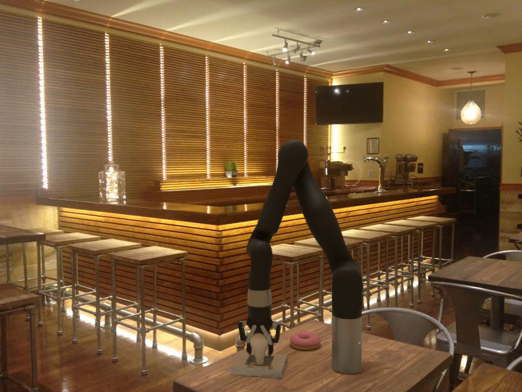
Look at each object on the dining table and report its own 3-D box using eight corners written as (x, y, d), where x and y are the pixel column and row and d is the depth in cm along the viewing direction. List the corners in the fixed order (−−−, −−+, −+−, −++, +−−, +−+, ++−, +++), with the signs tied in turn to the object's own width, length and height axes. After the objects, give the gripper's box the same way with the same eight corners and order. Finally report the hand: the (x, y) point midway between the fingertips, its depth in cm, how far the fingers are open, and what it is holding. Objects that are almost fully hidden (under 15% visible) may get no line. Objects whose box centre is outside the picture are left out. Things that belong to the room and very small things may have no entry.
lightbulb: (246, 367, 150) (246, 332, 149) (256, 359, 155) (255, 326, 154) (263, 370, 147) (263, 336, 146) (272, 363, 152) (272, 329, 152)
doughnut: (300, 354, 162) (300, 342, 162) (284, 343, 172) (283, 332, 171) (326, 348, 167) (326, 336, 167) (309, 338, 177) (309, 327, 176)
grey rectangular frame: (287, 362, 155) (287, 354, 155) (281, 378, 144) (281, 370, 144) (239, 358, 159) (239, 351, 158) (230, 374, 147) (230, 366, 147)
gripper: (283, 299, 152) (284, 351, 153) (240, 297, 155) (240, 348, 156) (280, 307, 144) (280, 361, 146) (234, 304, 147) (234, 357, 149)
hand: (259, 354), depth 151 cm, fingers closed on lightbulb, 6 cm apart
